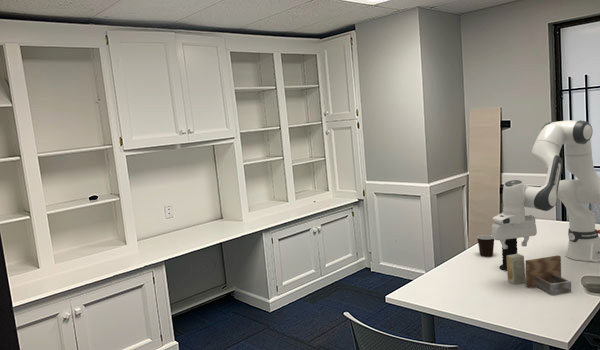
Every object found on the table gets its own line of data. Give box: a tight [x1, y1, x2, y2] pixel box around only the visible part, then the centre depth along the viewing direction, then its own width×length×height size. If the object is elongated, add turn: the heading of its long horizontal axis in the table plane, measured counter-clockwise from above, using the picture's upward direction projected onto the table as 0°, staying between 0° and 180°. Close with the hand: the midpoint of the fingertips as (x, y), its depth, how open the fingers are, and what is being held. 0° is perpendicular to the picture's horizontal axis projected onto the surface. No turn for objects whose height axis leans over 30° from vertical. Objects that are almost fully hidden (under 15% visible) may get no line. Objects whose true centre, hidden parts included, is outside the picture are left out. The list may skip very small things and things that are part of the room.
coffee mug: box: [476, 234, 495, 258], centre depth 247 cm, size 12×9×10 cm
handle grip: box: [498, 238, 518, 272], centre depth 223 cm, size 10×26×10 cm
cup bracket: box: [524, 254, 572, 296], centre depth 196 cm, size 16×12×12 cm
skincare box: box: [506, 253, 526, 285], centre depth 207 cm, size 6×4×12 cm
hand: (514, 247), depth 206 cm, fingers open, 8 cm apart
